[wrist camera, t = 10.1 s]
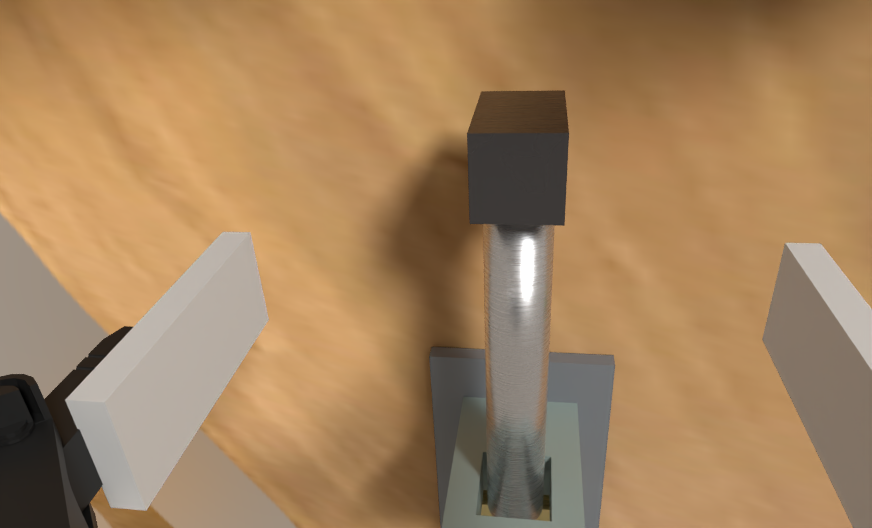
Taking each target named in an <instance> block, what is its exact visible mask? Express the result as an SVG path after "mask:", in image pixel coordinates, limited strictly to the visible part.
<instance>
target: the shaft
mask: <svg viewBox="0 0 872 528" xmlns="http://www.w3.org/2000/svg"><path fill="white" fill-rule="evenodd" d="M568 141H569V129H568V119H567V109H566V99H565V91H485V92H481V94H480V97H479V100H478V103H477V106H476V109H475V112H474V115H473V118H472V121H471V124H470V127H469V130H468V133H467V142H468V179H469V217H470V224H483V248H484V310H485V373H486V435H487V497H488V508H489V511H490V513H491V514H492V516H493V517H504V518H516V519H528V520H536V519H537V518H538V517H539V516H540V514H541V512H542V509H543V491H544V467H545V443H546V418H547V394H548V369H549V345H550V321H551V296H552V272H553V248H554V225H564V222H565V202H566V181H567V161H568Z"/></svg>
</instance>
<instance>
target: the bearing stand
mask: <svg viewBox="0 0 872 528" xmlns="http://www.w3.org/2000/svg"><path fill="white" fill-rule="evenodd" d="M429 358H430V373H431V388H432V403H433V419H434V434H435V449H436V464H437V479H438V494H439V509H440V525H441V528H599V519H600V509H601V499H602V489H603V479H604V469H605V459H606V450H607V440H608V430H609V420H610V410H611V400H612V390H613V380H614V370H615V362H614V356H613V355H597V354H575V353H554V352H549V369H548V394H547V418H546V443H545V467H544V491H543V495H549V502H550V521H540V520H528V519H516V518H504V517H492V516H481V509H482V500H483V490H487V435H486V373H485V349H468V348H446V347H432V348H431V352H430V356H429Z"/></svg>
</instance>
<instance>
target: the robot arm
mask: <svg viewBox="0 0 872 528" xmlns="http://www.w3.org/2000/svg"><path fill="white" fill-rule="evenodd" d="M268 320H269V318H268V313H267V309H266V304H265V299H264V294H263V290H262V285H261V280H260V275H259V271H258V266H257V261H256V256H255V252H254V247H253V242H252V237H251V233H250V232H222V233H221V234H220V235H219V237H218V238H217V239H216V240H215V241H214V242H213V243H212V244H211V245H210V246H209V247H208V248H207V249H206V250H205V251H204V252H203V254H202V255H201V256H200V257H199V258H198V259H197V260H196V261H195V262H194V263H193V264H192V265H191V266H190V267H189V268H188V270H187V271H186V272H185V273H184V274H183V275H182V276H181V277H180V278H179V279H178V280H177V281H176V282H175V283H174V284H173V286H172V287H171V288H170V289H169V290H168V291H167V292H166V293H165V294H164V295H163V296H162V297H161V298H160V299H159V300H158V301H157V303H156V304H155V305H154V306H153V307H152V308H151V309H150V310H149V311H148V312H147V313H146V314H145V315H144V316H143V317H142V319H141V320H140V321H139V322H138V323H137V324H136V325H135V326H134V327H126V326H124V327H123V328H121V329H119V330H118V331H116V332H114V333H113V334H111V335H109V336H108V337H106V338H105V339H103V340H102V341H101V342H100V343H99V344H98V345H97V346H96V347H95V348H94V349H93V350H92V351H91V352H90V353H89V356H88V357H85V358H84V359H83V360H82V361H81V362H80V363H79V364H78V366H77V368H76V370H73V371H72V372H71V373H70V374H69V375H68V376H67V377H66V378H65V379H64V380H63V381H62V382H61V383H60V384H59V385H58V386H57V387H56V388H55V389H54V390H53V391H52V392H51V393H50V394H49V395H48V396H47V397H46V398H45V399H44V398H43V396H42V394H41V391H40V389H39V387H38V384H37V383H36V381H35V380H34V378H33V377H31V376H28V375H25V374H10V375H6V376H1V377H0V528H98V526H97V521H96V516H95V513H94V511H93V508H92V506H91V504H90V501H91V500H92V499H93V497H94V496H95V495H96V493H97V492H98V491H99V489H100V488H101V487H102V488H103V491H104V493H105V495H106V498H107V500H108V502H109V505H110V507H111V508H122V509H134V510H145V511H147V509H148V507H149V506H150V504H151V503H152V501H153V500H154V498H155V496H156V495H157V493H158V492H159V490H160V489H161V487H162V485H163V484H164V482H165V481H166V479H167V478H168V476H169V475H170V473H171V471H172V470H173V468H174V467H175V465H176V464H177V462H178V461H179V459H180V457H181V456H182V454H183V453H184V451H185V449H186V448H187V447H188V445H189V443H190V442H191V440H192V439H193V437H194V435H195V434H196V432H197V431H198V429H199V428H200V426H201V425H202V423H203V422H204V420H205V418H206V417H207V415H208V414H209V412H210V411H211V409H212V408H213V406H214V404H215V403H216V401H217V400H218V398H219V397H220V395H221V393H222V392H223V390H224V389H225V387H226V386H227V384H228V383H229V381H230V379H231V378H232V376H233V375H234V373H235V372H236V370H237V369H238V367H239V365H240V364H241V362H242V361H243V359H244V358H245V356H246V354H247V353H248V351H249V350H250V348H251V347H252V345H253V344H254V342H255V340H256V339H257V337H258V336H259V334H260V333H261V331H262V330H263V328H264V326H265V325H266V323H267V322H268ZM762 340H763V342H764V344H765V346H766V348H767V350H768V352H769V354H770V356H771V358H772V361H773V363H774V365H775V367H776V369H777V371H778V373H779V375H780V377H781V379H782V381H783V383H784V385H785V387H786V390H787V392H788V394H789V396H790V398H791V400H792V402H793V404H794V406H795V408H796V410H797V412H798V414H799V416H800V419H801V421H802V423H803V425H804V427H805V429H806V431H807V433H808V435H809V437H810V439H811V441H812V443H813V445H814V447H815V450H816V452H817V454H818V456H819V458H820V460H821V462H822V464H823V466H824V468H825V470H826V472H827V474H828V476H829V479H830V481H831V483H832V485H833V487H834V489H835V491H836V493H837V495H838V497H839V499H840V501H841V503H842V505H843V507H844V510H845V512H846V514H847V516H848V518H849V520H850V522H851V524H852V526H853V528H872V309H871V308H870V306H869V305H868V304H867V303H866V301H865V300H864V299H863V297H862V296H861V295H860V294H859V292H858V291H857V290H856V288H855V287H854V286H853V285H852V283H851V282H850V281H849V279H848V278H847V277H846V276H845V274H844V273H843V272H842V270H841V269H840V268H839V267H838V265H837V264H836V263H835V261H834V260H833V259H832V258H831V256H830V255H829V254H828V252H827V251H826V250H825V249H824V247H823V246H822V245H821V244H816V243H785V246H784V250H783V254H782V258H781V263H780V267H779V271H778V275H777V280H776V284H775V288H774V292H773V297H772V301H771V305H770V309H769V314H768V318H767V322H766V326H765V331H764V335H763V339H762Z"/></svg>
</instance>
